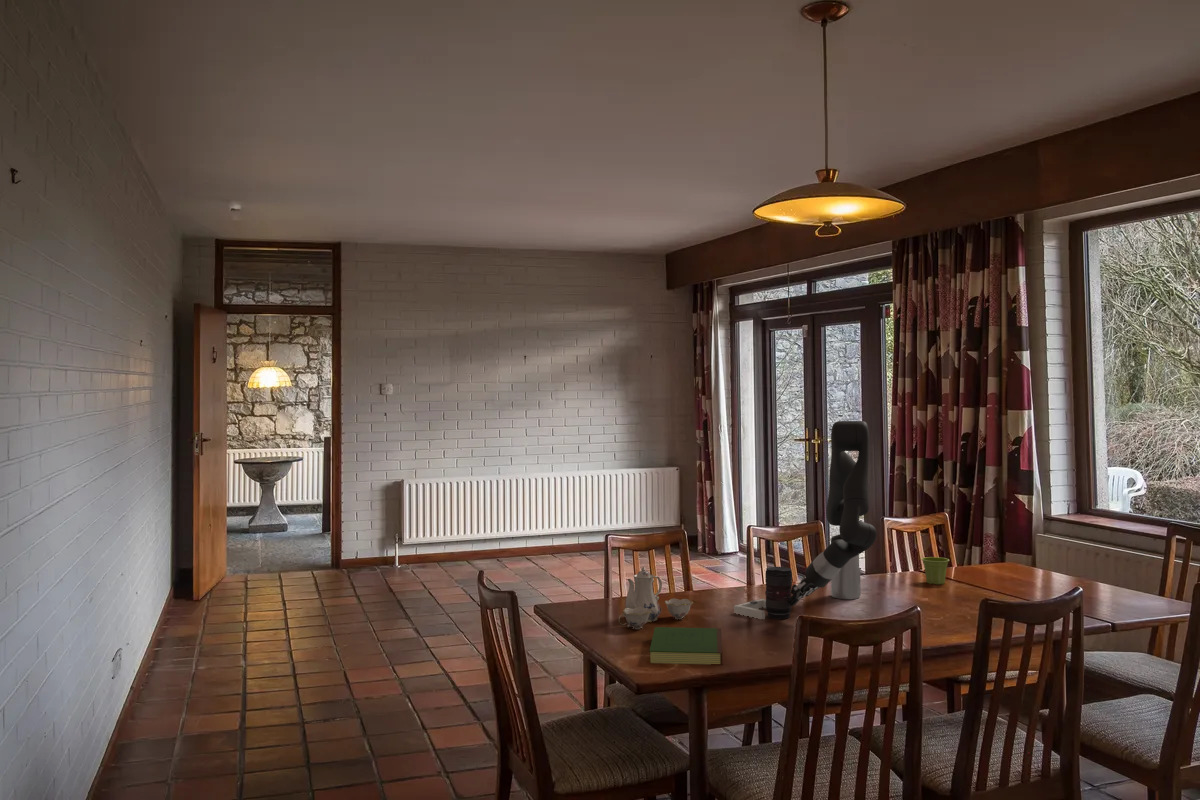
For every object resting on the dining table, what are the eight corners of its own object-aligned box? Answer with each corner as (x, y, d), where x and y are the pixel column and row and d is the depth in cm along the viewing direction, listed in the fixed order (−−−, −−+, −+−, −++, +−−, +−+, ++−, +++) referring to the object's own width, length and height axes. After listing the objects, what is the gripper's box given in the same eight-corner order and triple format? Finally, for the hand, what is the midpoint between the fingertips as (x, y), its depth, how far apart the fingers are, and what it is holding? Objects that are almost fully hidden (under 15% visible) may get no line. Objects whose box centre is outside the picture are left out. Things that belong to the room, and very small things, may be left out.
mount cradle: (761, 606, 302) (761, 596, 302) (789, 612, 294) (789, 602, 294) (734, 613, 293) (734, 603, 293) (761, 619, 285) (761, 609, 285)
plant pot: (916, 581, 339) (916, 557, 338) (939, 579, 341) (939, 556, 341) (931, 586, 329) (931, 562, 329) (954, 584, 332) (954, 560, 332)
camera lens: (791, 620, 283) (790, 571, 283) (764, 618, 285) (763, 570, 285) (793, 614, 291) (793, 566, 291) (767, 612, 293) (767, 565, 293)
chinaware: (638, 639, 270) (642, 583, 268) (597, 624, 281) (601, 570, 280) (699, 622, 289) (703, 569, 288) (658, 608, 301) (662, 557, 300)
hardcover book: (722, 667, 238) (722, 652, 238) (649, 665, 241) (649, 650, 241) (721, 640, 263) (721, 627, 263) (655, 639, 265) (655, 626, 265)
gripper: (829, 555, 282) (796, 590, 291) (803, 561, 273) (770, 596, 282) (844, 575, 278) (810, 609, 287) (819, 581, 269) (784, 617, 278)
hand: (790, 603), depth 285 cm, fingers closed
